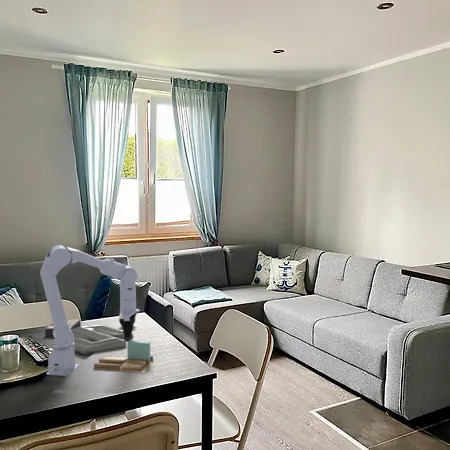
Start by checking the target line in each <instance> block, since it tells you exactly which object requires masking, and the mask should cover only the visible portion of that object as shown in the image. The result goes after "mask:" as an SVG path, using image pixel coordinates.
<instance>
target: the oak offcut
mask: <svg viewBox="0 0 450 450" xmlns="http://www.w3.org/2000/svg"><path fill="white" fill-rule="evenodd" d="M145 364H146V361H135V360H126V361H125V362H124V364H123V365H122V368H135V369H141V368H142V367H143V366H144V365H145Z"/></svg>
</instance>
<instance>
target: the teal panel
mask: <svg viewBox="0 0 450 450" xmlns="http://www.w3.org/2000/svg"><path fill="white" fill-rule="evenodd" d="M126 347H127V358H128V359H139V360H150V356H151V341H149V340H148V341H147V340H133V339H132V340H128V341H126Z"/></svg>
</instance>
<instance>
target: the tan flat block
mask: <svg viewBox="0 0 450 450" xmlns="http://www.w3.org/2000/svg"><path fill="white" fill-rule="evenodd" d="M145 366H146V364H145V365H144V366H143V367H142V368H141V369H135V368H122V370H132V371H141V370H142V369H143V368H144V367H145Z"/></svg>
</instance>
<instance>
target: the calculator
mask: <svg viewBox="0 0 450 450" xmlns="http://www.w3.org/2000/svg"><path fill="white" fill-rule="evenodd" d="M67 322H68V325H69V326H70V328H71V329H75V328H77V327H82V326H81V320H80V319H67ZM44 329H45V330H44V332H45V333H44V337H46V338H47V337H48V338H51V337H52V338H54V336H53V329H54V325H53V322H52V323H50V324H49V326H47V327H46V328H44Z"/></svg>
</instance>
